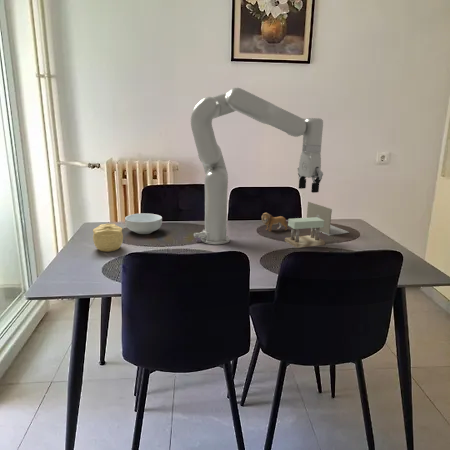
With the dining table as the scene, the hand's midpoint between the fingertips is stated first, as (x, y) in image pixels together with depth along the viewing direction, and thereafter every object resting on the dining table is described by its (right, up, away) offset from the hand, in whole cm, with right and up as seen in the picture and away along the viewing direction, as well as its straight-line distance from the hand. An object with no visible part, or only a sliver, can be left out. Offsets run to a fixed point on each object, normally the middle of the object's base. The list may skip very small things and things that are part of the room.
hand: (308, 190), depth 167 cm
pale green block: (0, -15, +4) cm, 16 cm away
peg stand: (0, -22, +6) cm, 23 cm away
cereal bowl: (-73, -18, +17) cm, 77 cm away
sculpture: (-82, -25, -8) cm, 86 cm away
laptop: (+15, -17, +28) cm, 36 cm away
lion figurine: (-11, -17, +25) cm, 32 cm away
